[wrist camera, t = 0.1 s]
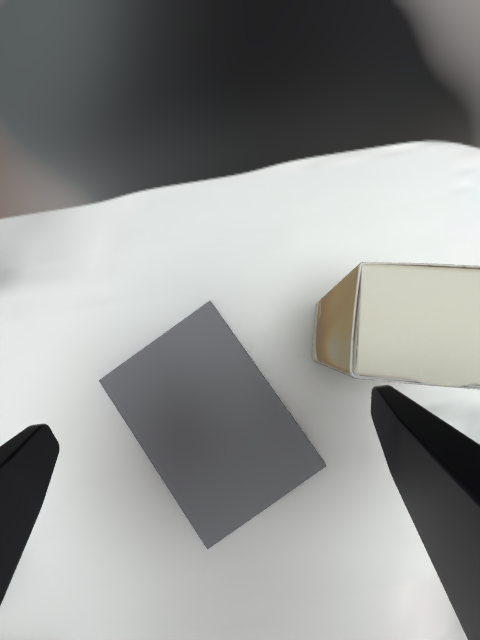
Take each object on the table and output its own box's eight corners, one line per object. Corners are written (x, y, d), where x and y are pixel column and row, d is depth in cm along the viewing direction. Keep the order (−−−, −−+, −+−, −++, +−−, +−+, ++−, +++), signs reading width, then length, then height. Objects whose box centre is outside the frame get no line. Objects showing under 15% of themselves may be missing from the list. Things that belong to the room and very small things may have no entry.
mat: (325, 463, 23) (326, 465, 23) (208, 545, 23) (207, 549, 23) (210, 301, 24) (209, 300, 24) (101, 379, 25) (98, 380, 24)
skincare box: (403, 307, 23) (552, 268, 11) (400, 369, 23) (549, 397, 11) (311, 301, 24) (357, 256, 12) (306, 361, 24) (350, 379, 11)
